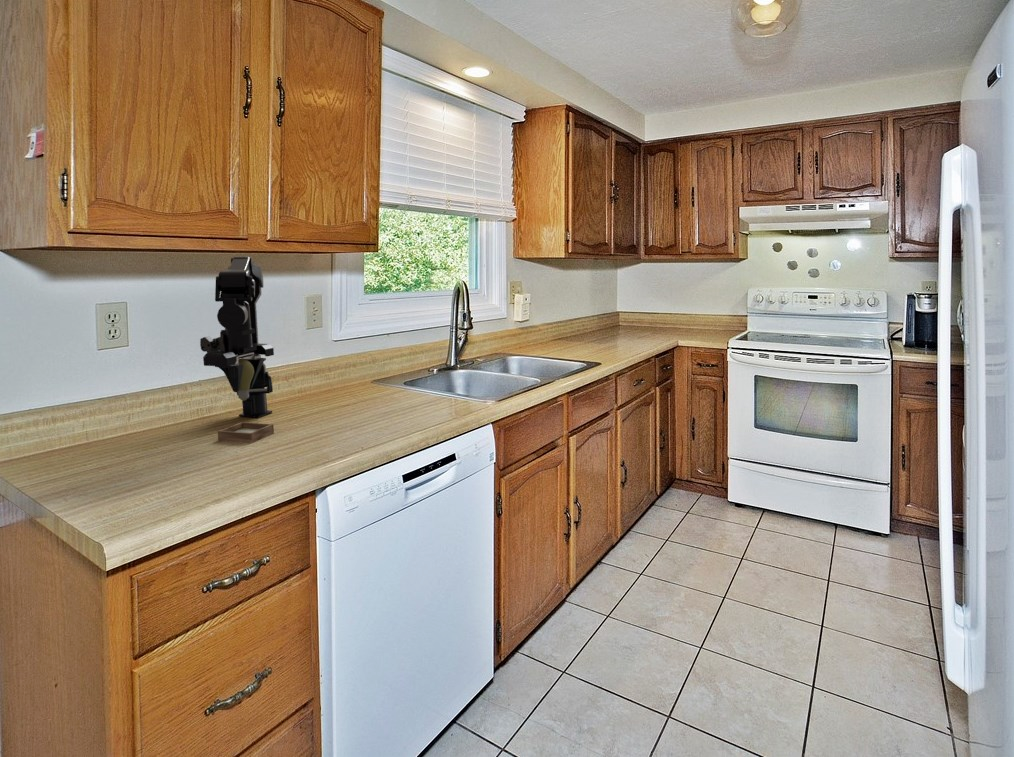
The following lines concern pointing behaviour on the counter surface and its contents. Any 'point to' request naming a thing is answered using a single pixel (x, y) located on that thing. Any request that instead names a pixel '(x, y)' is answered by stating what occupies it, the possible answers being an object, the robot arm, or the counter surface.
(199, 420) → the counter surface
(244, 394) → the light bulb
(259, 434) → the tray
